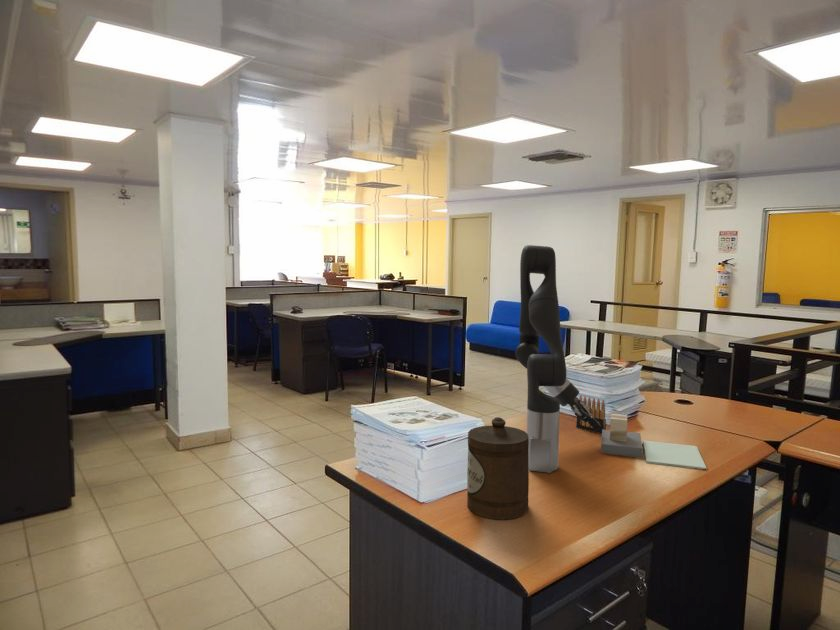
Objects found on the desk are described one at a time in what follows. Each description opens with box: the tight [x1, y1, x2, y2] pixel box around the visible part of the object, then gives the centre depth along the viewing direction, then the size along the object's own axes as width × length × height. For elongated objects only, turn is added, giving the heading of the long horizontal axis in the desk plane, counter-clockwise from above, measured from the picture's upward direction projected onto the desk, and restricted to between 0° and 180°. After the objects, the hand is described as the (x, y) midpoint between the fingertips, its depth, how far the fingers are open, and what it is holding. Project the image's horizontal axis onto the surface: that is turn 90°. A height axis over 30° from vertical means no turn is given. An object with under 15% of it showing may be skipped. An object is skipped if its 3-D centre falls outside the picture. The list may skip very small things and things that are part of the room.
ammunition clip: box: [575, 394, 607, 435], centre depth 191 cm, size 11×2×12 cm, turn 43°
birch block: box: [609, 413, 628, 442], centre depth 173 cm, size 6×5×7 cm
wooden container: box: [466, 416, 530, 521], centre depth 130 cm, size 15×15×22 cm
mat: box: [642, 440, 708, 470], centre depth 166 cm, size 20×16×1 cm
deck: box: [600, 429, 644, 459], centre depth 173 cm, size 16×12×3 cm
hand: (598, 428), depth 175 cm, fingers closed
